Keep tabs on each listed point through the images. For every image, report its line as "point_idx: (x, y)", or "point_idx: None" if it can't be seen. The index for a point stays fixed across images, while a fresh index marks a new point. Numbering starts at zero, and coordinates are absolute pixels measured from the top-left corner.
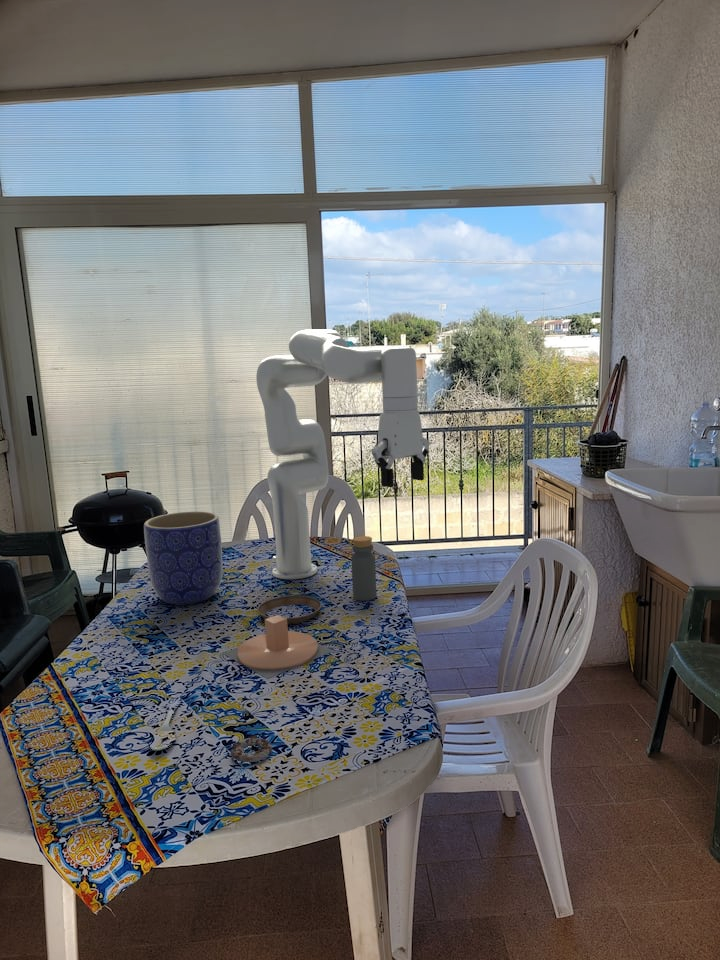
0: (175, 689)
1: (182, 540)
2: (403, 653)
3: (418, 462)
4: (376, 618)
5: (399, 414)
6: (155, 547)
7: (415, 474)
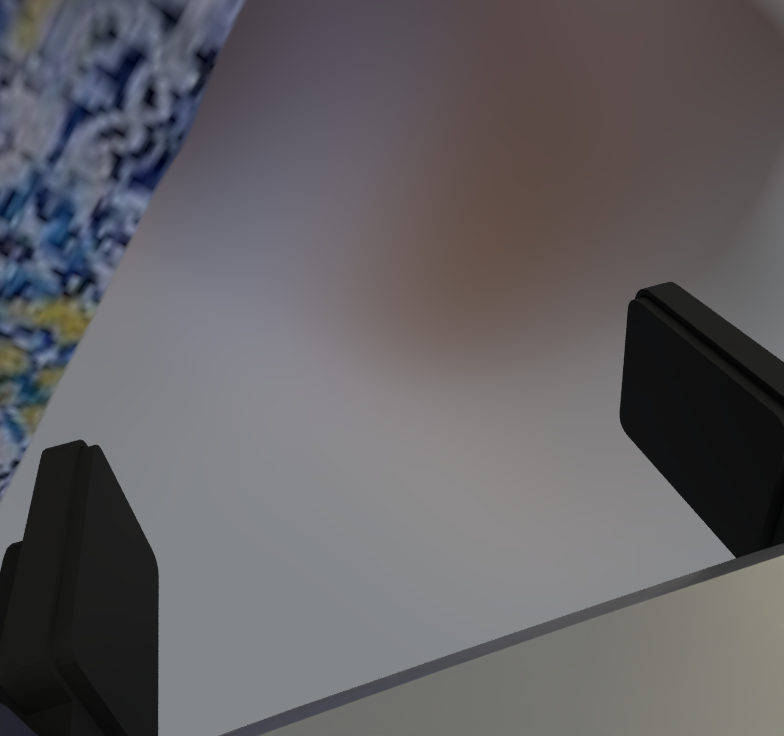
0: None
1: None
2: (41, 352)
3: (780, 538)
4: (87, 17)
5: None
6: None
7: (662, 384)
